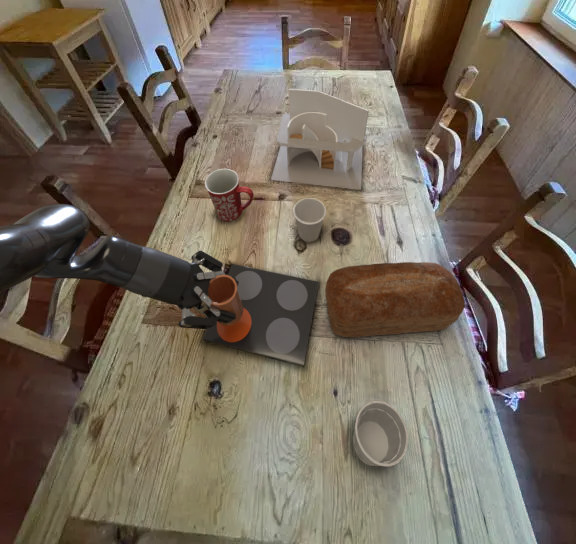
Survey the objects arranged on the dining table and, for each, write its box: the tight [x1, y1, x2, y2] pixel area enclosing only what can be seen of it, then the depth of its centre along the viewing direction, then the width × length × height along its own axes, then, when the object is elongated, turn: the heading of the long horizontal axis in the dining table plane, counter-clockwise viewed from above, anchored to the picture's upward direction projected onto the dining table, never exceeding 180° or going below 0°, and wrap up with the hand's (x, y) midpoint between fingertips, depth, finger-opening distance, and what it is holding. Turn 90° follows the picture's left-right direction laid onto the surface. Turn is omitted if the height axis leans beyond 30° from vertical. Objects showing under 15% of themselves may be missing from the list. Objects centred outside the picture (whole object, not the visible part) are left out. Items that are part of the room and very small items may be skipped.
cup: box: [352, 400, 409, 467], centre depth 57 cm, size 8×8×12 cm
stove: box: [202, 263, 320, 368], centre depth 77 cm, size 18×22×2 cm
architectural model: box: [270, 88, 370, 191], centre depth 104 cm, size 28×21×23 cm
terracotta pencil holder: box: [208, 274, 243, 326], centre depth 67 cm, size 6×6×10 cm
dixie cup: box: [292, 197, 327, 243], centre depth 89 cm, size 8×8×10 cm
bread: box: [324, 261, 466, 338], centre depth 72 cm, size 12×28×14 cm, turn 94°
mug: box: [204, 168, 254, 223], centre depth 94 cm, size 13×9×14 cm
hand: (234, 300), depth 67 cm, fingers closed on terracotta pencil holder, 6 cm apart
